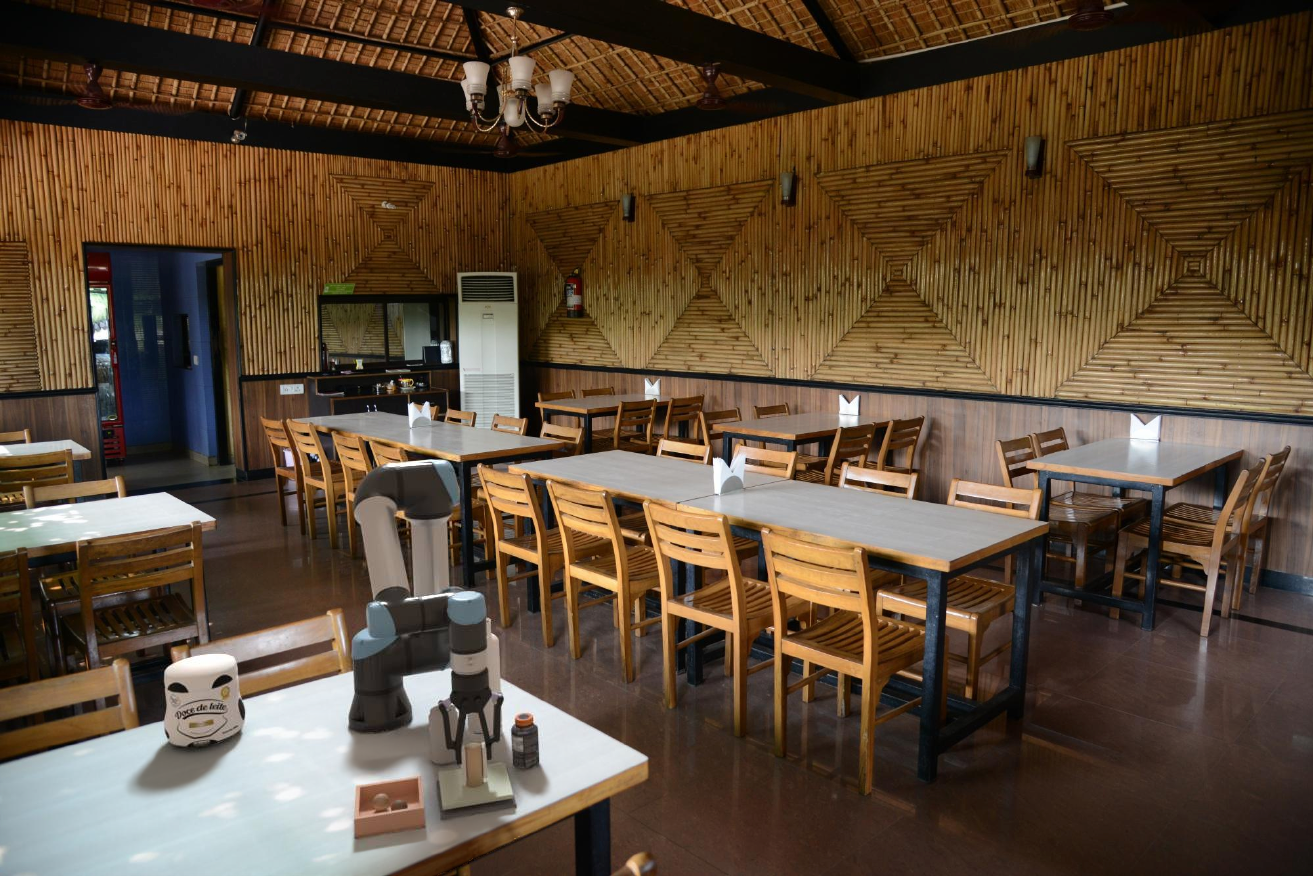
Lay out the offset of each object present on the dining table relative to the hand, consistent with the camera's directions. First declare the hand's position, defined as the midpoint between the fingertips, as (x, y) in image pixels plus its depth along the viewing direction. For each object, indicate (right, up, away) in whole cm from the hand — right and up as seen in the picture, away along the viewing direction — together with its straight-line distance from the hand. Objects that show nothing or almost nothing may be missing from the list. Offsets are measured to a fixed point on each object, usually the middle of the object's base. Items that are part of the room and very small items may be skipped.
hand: (474, 776), depth 184 cm
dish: (-15, -5, -7) cm, 18 cm away
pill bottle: (+9, -3, +13) cm, 16 cm away
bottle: (-3, -1, +28) cm, 28 cm away
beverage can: (-10, -2, +16) cm, 19 cm away
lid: (0, -2, 0) cm, 2 cm away
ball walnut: (-13, -3, -8) cm, 16 cm away
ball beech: (-18, -3, -6) cm, 19 cm away
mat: (0, -4, 0) cm, 4 cm away
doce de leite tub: (-70, -2, +29) cm, 76 cm away
